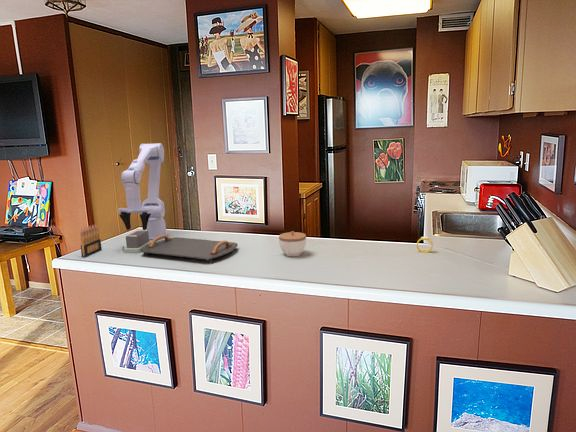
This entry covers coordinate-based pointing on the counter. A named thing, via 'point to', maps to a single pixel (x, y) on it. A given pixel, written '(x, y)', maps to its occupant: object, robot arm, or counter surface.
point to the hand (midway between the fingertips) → (136, 229)
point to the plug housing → (137, 239)
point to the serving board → (189, 247)
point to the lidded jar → (292, 243)
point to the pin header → (135, 250)
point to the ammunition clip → (90, 241)
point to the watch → (425, 239)
